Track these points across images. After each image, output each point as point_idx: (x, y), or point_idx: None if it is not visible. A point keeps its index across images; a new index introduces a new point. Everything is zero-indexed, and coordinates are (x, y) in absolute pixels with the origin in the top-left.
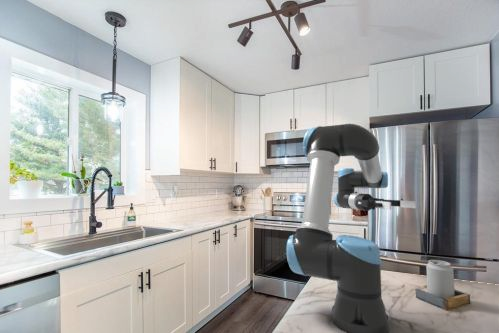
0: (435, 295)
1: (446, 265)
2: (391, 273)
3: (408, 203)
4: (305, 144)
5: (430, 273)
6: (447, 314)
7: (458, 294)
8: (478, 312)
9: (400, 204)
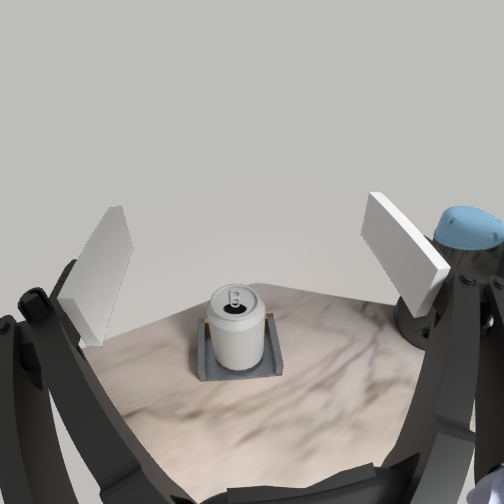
0: (271, 331)
1: (241, 284)
2: None
3: (110, 255)
4: None
5: (264, 319)
6: (282, 317)
7: (205, 335)
8: None
9: (92, 328)
